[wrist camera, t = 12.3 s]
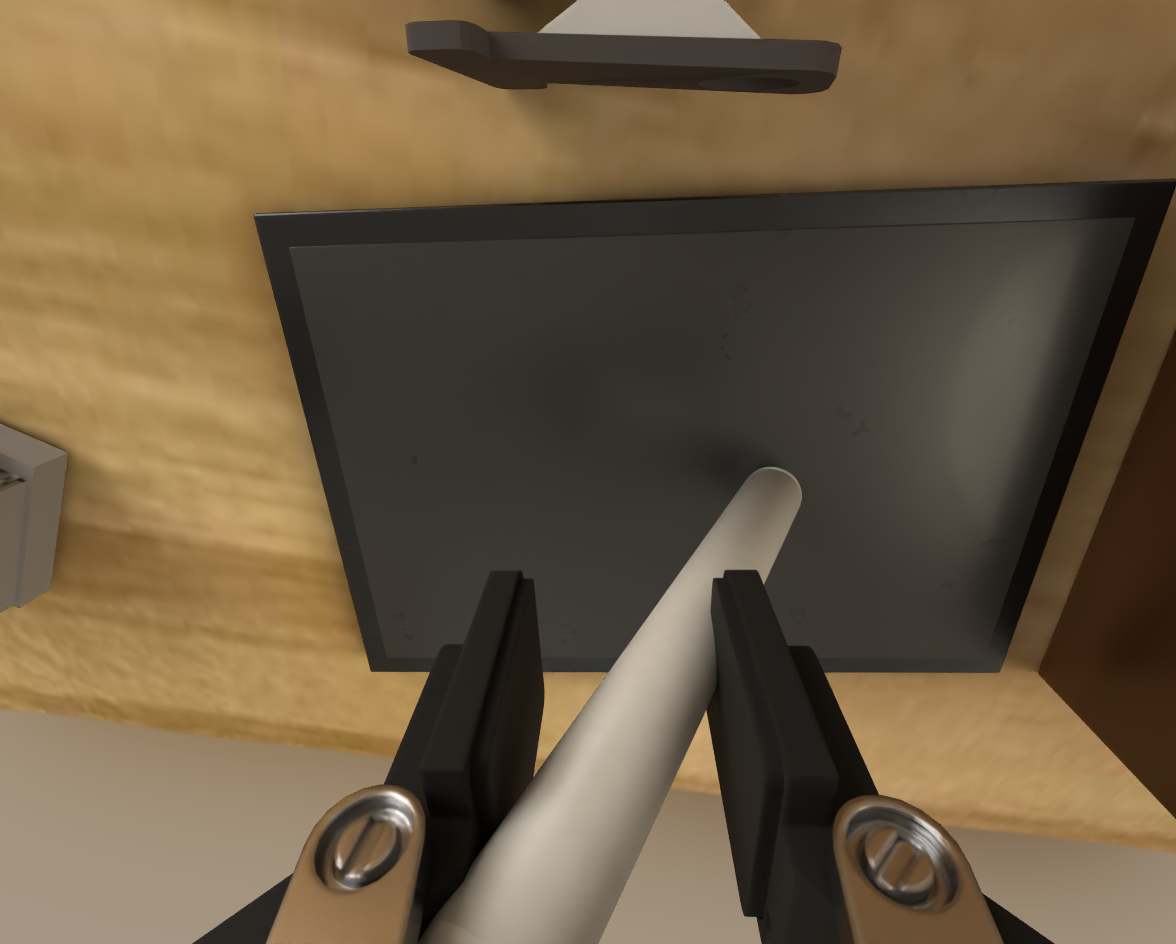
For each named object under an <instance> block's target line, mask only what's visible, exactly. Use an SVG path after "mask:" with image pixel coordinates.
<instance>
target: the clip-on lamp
mask: <svg viewBox="0 0 1176 944" xmlns="http://www.w3.org/2000/svg"><path fill="white" fill-rule="evenodd" d="M406 35H407V45H408V53H410V54H411V55H414V56H416V57H419V58H422V59H424V60H427V61H429V62H432V63H434V64H437V65H439V66H442V67H445V68H447V69H450V70H452V71H455V72H457V73H460V74H463V75H465V76H468V77H470V78H473V79H475V80H478V81H480V82H483V83H486V84H488V85H491V86H493V87H496V88H502V89H544V88H548V84H547V83H559V84H581V85H603V86H624V87H646V88H667V89H689V90H710V91H732V92H753V93H775V94H807V93H815V92H822V91H824V90H827V89H829V87H830V86H831V84H832V83H833V81H834V79H835V78H836V75H837V70H838V65H839V60H840V55H841V50H842V47H841V46H840V45H839V44H838V43H834V42H829V41H822V40H787V39H761V38H760V37H759V36H758V35H757V34H756V33H755V32H754V31H753V30H752V29H751V28H750V26H749V25H748V24H747V23H746V22H745V21H744V20H743V19H742V18H741V17H740V16H739V15H738V14H737V13H736V12H735V11H734V10H733V9H732V8H731V7H730V6H729V5H728V4H727V3H726V2H725V1H724V0H577V1H576V2H575V3H574V4H572V5H571V6H570V7H569V8H567V9H566V10H565V11H564V12H562V13H561V14H560V15H559V16H557V17H556V18H555V19H553V20H552V21H551V22H550V23H548V24H547V25H546V26H545V27H543V28H542V29H541V30H540V31H538V32H537V33H522V32H488V31H486V30H484V29H482V28H481V27H479V26H477V25H475V24H473V23H470V22H465V21H456V20H445V21H423V22H410V23H407V24H406Z"/></svg>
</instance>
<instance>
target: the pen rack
mask: <svg viewBox="0 0 1176 944" xmlns="http://www.w3.org/2000/svg"><path fill="white" fill-rule="evenodd" d="M1039 675H1040V676H1041V677H1042V678H1043V679H1044V680H1045V682H1046V683H1047V684H1048V685H1049V686H1050V687H1051V688H1052V689H1053V690H1054V691H1055V692H1056V693H1057V694H1058V695H1059V696H1060V697H1061V698H1062V699H1063V700H1064V702H1065V703H1066V704H1067V705H1068V706H1069V707H1070V708H1071V709H1072V710H1073V711H1074V712H1075V713H1076V714H1077V715H1078V716H1079V717H1080V718H1081V719H1082V721H1083V722H1084V723H1085V724H1086V725H1087V726H1088V727H1089V728H1090V729H1091V730H1092V731H1093V732H1094V733H1095V734H1096V735H1097V736H1098V737H1099V738H1100V740H1101V741H1102V742H1103V743H1104V744H1105V745H1106V746H1107V747H1108V748H1109V749H1110V750H1111V751H1112V752H1113V753H1114V754H1115V755H1116V756H1117V757H1118V758H1119V760H1120V761H1121V762H1122V763H1123V764H1124V765H1125V766H1126V767H1127V768H1128V769H1129V770H1130V771H1131V772H1132V773H1133V774H1134V775H1135V776H1136V777H1137V779H1138V780H1139V781H1140V782H1141V783H1142V784H1143V785H1144V786H1145V787H1146V788H1147V789H1148V790H1149V791H1150V792H1151V793H1152V794H1153V795H1154V796H1155V798H1156V799H1157V800H1158V801H1159V802H1160V803H1161V804H1162V805H1163V806H1164V807H1165V808H1166V809H1167V810H1168V811H1169V812H1170V813H1171V814H1172V815H1173V816H1174V818H1175V819H1176V332H1175V335H1174V337H1173V340H1172V342H1171V345H1170V347H1169V350H1168V352H1167V355H1166V357H1165V360H1164V362H1163V365H1162V367H1161V370H1160V372H1159V375H1158V377H1157V380H1156V382H1155V385H1154V387H1153V390H1152V392H1151V395H1150V397H1149V400H1148V402H1147V405H1146V407H1145V410H1144V412H1143V415H1142V417H1141V420H1140V422H1139V425H1138V427H1137V430H1136V432H1135V435H1134V437H1133V440H1132V442H1131V444H1130V447H1129V449H1128V452H1127V454H1126V457H1125V459H1124V462H1123V464H1122V467H1121V469H1120V472H1119V474H1118V477H1117V479H1116V482H1115V484H1114V487H1113V489H1112V492H1111V494H1110V497H1109V499H1108V502H1107V504H1106V507H1105V509H1104V512H1103V514H1102V517H1101V519H1100V522H1099V524H1098V527H1097V529H1096V532H1095V534H1094V537H1093V539H1092V542H1091V544H1090V547H1089V549H1088V552H1087V554H1086V557H1085V559H1084V562H1083V564H1082V566H1081V569H1080V571H1079V574H1078V576H1077V579H1076V581H1075V584H1074V586H1073V589H1072V591H1071V594H1070V596H1069V599H1068V601H1067V604H1066V606H1065V609H1064V611H1063V614H1062V616H1061V619H1060V621H1059V624H1058V626H1057V629H1056V631H1055V634H1054V636H1053V639H1052V641H1051V644H1050V646H1049V649H1048V651H1047V654H1046V656H1045V659H1044V661H1043V664H1042V666H1041V669H1040V671H1039Z"/></svg>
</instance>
